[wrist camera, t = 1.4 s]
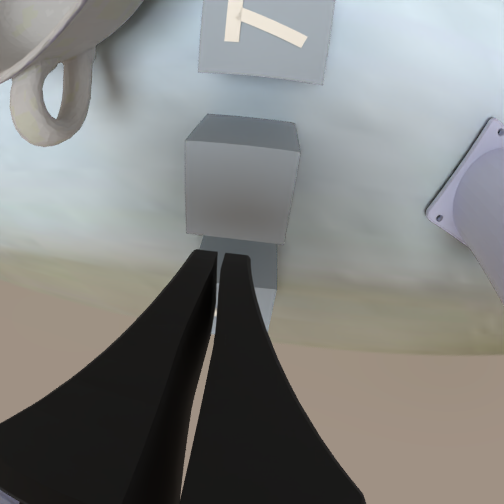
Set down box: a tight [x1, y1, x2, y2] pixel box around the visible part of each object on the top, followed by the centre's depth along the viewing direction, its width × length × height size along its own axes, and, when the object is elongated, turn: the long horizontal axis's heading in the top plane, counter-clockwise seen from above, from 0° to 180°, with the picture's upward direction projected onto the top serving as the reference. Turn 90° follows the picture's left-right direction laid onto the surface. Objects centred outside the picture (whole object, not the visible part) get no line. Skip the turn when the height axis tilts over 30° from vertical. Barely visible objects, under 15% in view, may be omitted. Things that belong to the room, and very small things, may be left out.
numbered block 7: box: [198, 0, 335, 85], centre depth 10 cm, size 4×4×5 cm
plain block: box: [185, 114, 301, 245], centre depth 15 cm, size 4×4×4 cm
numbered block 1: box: [200, 235, 277, 334], centre depth 19 cm, size 4×4×5 cm
